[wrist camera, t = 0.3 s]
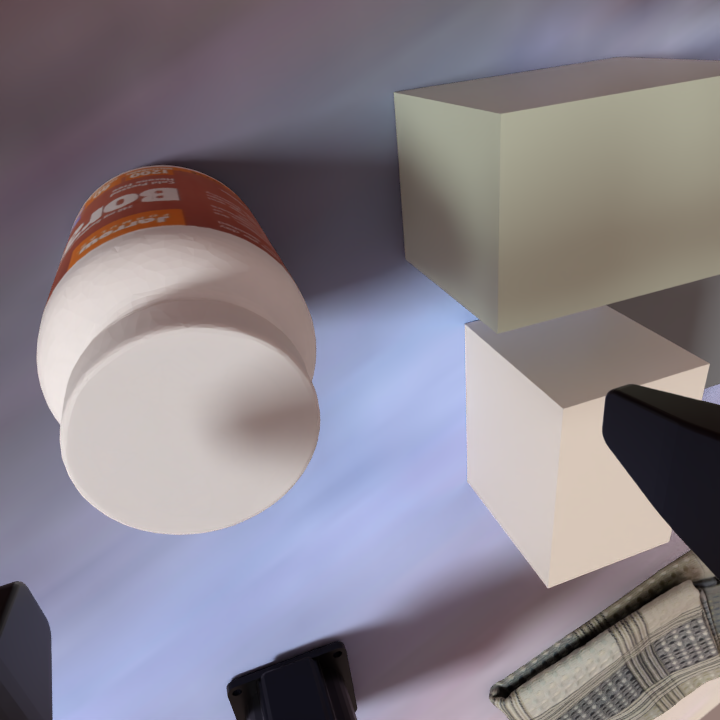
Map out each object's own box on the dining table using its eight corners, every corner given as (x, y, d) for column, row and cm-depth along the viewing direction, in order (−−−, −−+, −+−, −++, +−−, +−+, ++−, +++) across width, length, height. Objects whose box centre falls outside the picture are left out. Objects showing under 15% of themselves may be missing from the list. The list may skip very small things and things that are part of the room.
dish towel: (555, 761, 50) (579, 802, 47) (478, 682, 40) (502, 727, 38) (733, 636, 50) (767, 670, 47) (700, 525, 40) (740, 560, 38)
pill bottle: (154, 117, 18) (174, 198, 9) (296, 246, 21) (419, 404, 12) (27, 265, 19) (-77, 484, 10) (183, 368, 22) (218, 603, 13)
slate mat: (769, 362, 33) (775, 365, 33) (588, 420, 31) (593, 424, 30) (832, 141, 27) (841, 142, 27) (614, 189, 25) (620, 190, 24)
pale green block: (617, 57, 22) (792, 63, 16) (601, 214, 25) (743, 268, 19) (393, 92, 20) (500, 113, 14) (405, 259, 23) (497, 333, 17)
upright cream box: (569, 447, 31) (669, 541, 25) (467, 481, 30) (547, 588, 24) (584, 292, 27) (710, 363, 21) (464, 323, 25) (563, 408, 19)
